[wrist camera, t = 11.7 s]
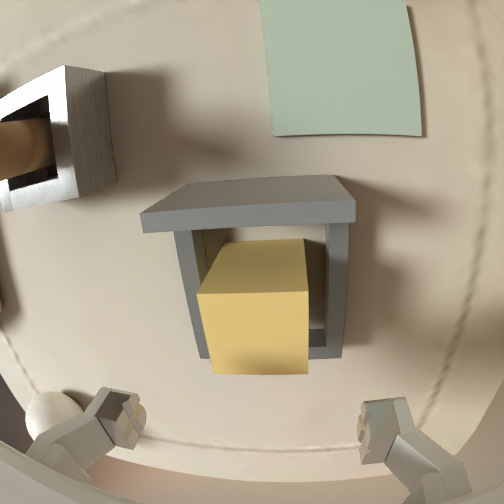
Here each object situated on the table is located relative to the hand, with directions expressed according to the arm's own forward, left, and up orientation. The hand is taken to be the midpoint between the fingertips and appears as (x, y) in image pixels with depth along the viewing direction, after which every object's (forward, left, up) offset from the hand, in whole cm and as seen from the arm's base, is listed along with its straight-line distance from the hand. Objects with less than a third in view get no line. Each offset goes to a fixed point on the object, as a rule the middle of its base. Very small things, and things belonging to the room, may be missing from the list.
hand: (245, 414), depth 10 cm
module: (-1, 0, -10) cm, 10 cm away
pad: (-13, +5, -10) cm, 17 cm away
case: (-1, 0, -10) cm, 10 cm away
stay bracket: (-11, -12, -10) cm, 19 cm away
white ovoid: (+16, -23, -10) cm, 30 cm away
